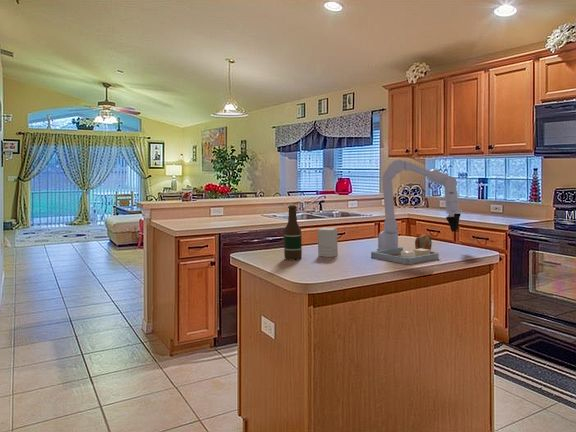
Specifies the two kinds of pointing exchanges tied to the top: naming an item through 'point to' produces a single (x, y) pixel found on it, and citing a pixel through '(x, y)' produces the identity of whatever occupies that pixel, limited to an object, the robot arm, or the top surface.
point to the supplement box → (327, 242)
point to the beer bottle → (292, 236)
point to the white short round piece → (407, 254)
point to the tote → (389, 257)
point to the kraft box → (421, 252)
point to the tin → (423, 242)
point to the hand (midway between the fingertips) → (455, 230)
